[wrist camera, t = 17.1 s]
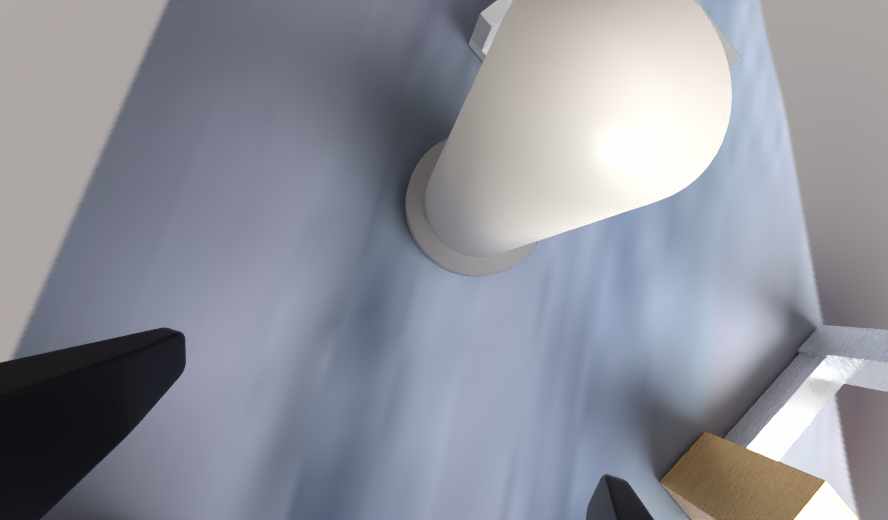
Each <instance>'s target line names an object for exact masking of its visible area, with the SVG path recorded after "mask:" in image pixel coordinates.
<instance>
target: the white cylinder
mask: <svg viewBox="0 0 888 520" xmlns="http://www.w3.org/2000/svg"><path fill="white" fill-rule="evenodd" d="M731 102H732V87H731V77H730V71H729V65H728V62H727V58H726V55H725V51H724V48H723V46H722V44H721V41H720V39H719V36H718V34H717V33H716V31H715V29H714V27H713V25H712V24H711V22H710V20H709V19H708V17H707V16H706V15H705V13H704V12H703V10H702V9H701V8H700V7H699V5H698V4H697V3H696V2H695V1H694V0H513V2H512V3H511V5H510V7H509V8H508V10H507V12H506V13H505V15H504V17H503V20H502V22H501V24H500V26H499V28H498V31H497V33H496V35H495V37H494V39H493V41H492V44H491V46H490V48H489V50H488V52H487V55H486V57H485V59H484V61H483V63H482V65H481V68H480V70H479V72H478V74H477V76H476V78H475V81H474V83H473V85H472V87H471V89H470V92H469V94H468V96H467V98H466V100H465V102H464V105H463V107H462V109H461V111H460V113H459V116H458V118H457V120H456V122H455V124H454V126H453V129H452V131H451V133H450V135H449V137H448V138H447V139H445V140H443V141H441V142H439V143H438V144H436V145H435V146H433V147H432V148H431V149H430V150H429V151H428V152H427V153H425V155H424V156H423V157H422V158H421V159H420V161H419V162H418V164H417V165H416V167H415V169H414V171H413V173H412V176H411V178H410V181H409V185H408V188H407V192H406V198H405V215H406V221H407V225H408V229H409V231H410V234H411V236H412V238H413V240H414V241H415V243H416V245H417V246H418V248H419V249H420V250H421V252H422V253H423V254H424V255H425V256H426V257H427V258H428V259H430V260H431V261H432V262H433V263H435V264H436V265H438V266H439V267H441V268H443V269H445V270H447V271H450V272H452V273H456V274H459V275H466V276H482V275H489V274H494V273H497V272H501V271H504V270H506V269H508V268H511V267H512V266H514V265H516V264H517V263H519V262H520V261H521V260H523V259H524V258H525V257H526V256H527V255H528V254H529V253H530V252H531V251H532V249H533V248H534V247H535V245H536V244H537V242H538V241H539V240H542V239H545V238H548V237H551V236H554V235H557V234H560V233H563V232H566V231H569V230H572V229H575V228H578V227H581V226H584V225H587V224H590V223H593V222H596V221H599V220H602V219H605V218H608V217H611V216H614V215H617V214H620V213H623V212H626V211H629V210H632V209H635V208H638V207H641V206H644V205H647V204H650V203H653V202H656V201H659V200H662V199H664V198H667V197H669V196H671V195H674V194H675V193H677V192H679V191H680V190H682V189H684V188H685V187H687V186H688V185H689V184H691V183H692V182H693V181H694V180H695V179H697V178H698V177H699V176H700V175H701V174H702V172H703V171H704V170H705V169H706V168H707V167H708V166H709V164H710V163H711V161H712V160H713V158H714V157H715V155H716V154H717V152H718V150H719V148H720V146H721V144H722V142H723V139H724V136H725V133H726V131H727V128H728V123H729V118H730V113H731Z"/></svg>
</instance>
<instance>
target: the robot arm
mask: <svg viewBox="0 0 888 520" xmlns="http://www.w3.org/2000/svg"><path fill="white" fill-rule="evenodd" d="M185 365H186V349H185V336H184V334H183V333H181V332H179V331H176V330H173V329H170V328H159V329H154V330H149V331H145V332H140V333H135V334H131V335H126V336H122V337H117V338H112V339H108V340H103V341H98V342H94V343H89V344H85V345H80V346H75V347H71V348H66V349H61V350H57V351H52V352H48V353H43V354H38V355H34V356H29V357H24V358H20V359H15V360H10V361H6V362H1V363H0V520H40V519H41V518H42V517H43V516H44V515H45V514H46V513H47V512H48V511H49V510H50V509H51V508H53V507H54V506H55V505H56V504H57V503H58V502H59V501H60V500H61V499H62V498H63V497H64V496H65V495H66V494H67V493H68V492H69V491H70V490H71V489H72V488H73V487H74V486H76V485H77V484H78V483H79V482H80V481H81V480H82V479H83V478H84V477H85V476H86V475H87V474H88V473H89V472H90V471H91V470H92V469H93V468H94V467H95V466H96V465H97V464H99V463H100V462H101V461H102V460H103V459H104V458H105V457H106V456H107V455H108V454H109V453H110V452H111V451H112V450H113V449H114V448H115V447H116V446H117V445H118V444H119V443H120V442H121V441H122V440H123V439H124V438H125V437H126V436H127V435H128V434H129V433H130V432H131V431H132V430H133V429H134V428H135V427H136V426H137V425H138V424H139V423H140V421H141V420H142V419H143V418H144V417H145V416H146V415H147V413H148V412H149V411H150V410H151V409H152V408H153V407H154V405H155V404H156V403H157V402H158V401H159V400H160V399H161V397H162V396H163V395H164V394H165V393H166V392H167V391H168V389H169V388H170V387H171V386H172V385H173V384H174V383H175V381H176V380H177V379H178V378H179V377H180V376H181V374H182V373H183V371H184V368H185ZM586 520H654V519H653V518H652V516H651V515H650V513H649V512H648V510H647V509H646V507H645V506H644V505H643V503H642V502H641V500H640V499H639V497H638V496H637V495H636V493H635V492H634V490H633V489H632V487H631V486H630V485H629V483H628V482H627V481H625V480H623V479H620V478H617V477H614V476H611V475H608V474H606V475H603V476H602V477H601V479H600V481H599V483H598V485H597V487H596V489H595V491H594V494H593V496H592V498H591V500H590V502H589V505H588V508H587V514H586Z"/></svg>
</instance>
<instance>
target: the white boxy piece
mask: <svg viewBox="0 0 888 520" xmlns="http://www.w3.org/2000/svg"><path fill="white" fill-rule="evenodd" d="M797 351H798V353H799V354H798V355H797V357H796V358H795V359H794V360H793V361H792V362H791V363H790V364H789V366H788V367H787V368H786V369H785V370H784V371H783V372H782V373H781V374H780V376H779V377H778V378H777V379H776V380H775V381H774V382H773V383H772V385H771V386H770V387H769V388H768V389H767V390H766V391H765V392H764V394H763V395H762V396H761V397H760V398H759V399H758V400H757V401H756V402H755V404H754V405H753V406H752V407H751V408H750V409H749V410H748V411H747V413H746V414H745V415H744V416H743V417H742V418H741V419H740V420H739V422H738V423H737V424H736V425H735V426H734V427H733V428H732V429H731V430H730V432H729V433H728V434H727V435H726V436H725V437H724V438H721V437H718V436H716V435H713V434H711V433H709V432H706V431H705V432H704V433H703V434H702V436H701V437H700V438H699V439H698V440H697V441H696V442H695V443H694V444H693V445H692V447H691V448H690V449H689V450H688V451H687V452H686V453H685V454H684V455H683V457H682V458H681V459H680V460H679V461H678V462H677V463H676V464H675V465H674V466H673V468H672V469H671V470H670V471H669V472H668V473H667V474H666V475H665V476H664V477H663V479H662V480H661V481H660V482H659V483H660V484H661V485H662V486H663V487H664V488H665V490H666V491H667V492H668V493H669V494H670V495H671V497H672V498H673V499H674V500H675V501H676V502H677V504H678V505H679V506H680V507H681V508H682V509H683V511H684V512H685V513H686V514H687V515H688V516H689V518H690V519H691V520H858V519H857V518H856V517H855V515H854V514H853V513H852V512H851V511H850V509H849V508H848V507H847V506H846V505H845V503H844V502H843V501H842V500H841V499H840V497H839V496H838V495H837V494H836V493H835V491H834V490H833V489H832V488H831V487H830V485H829V484H828V483H827V482H826V481H824V480H822V479H820V478H817V477H815V476H812V475H810V474H807V473H805V472H803V471H800V470H798V469H795V468H793V467H791V466H788V465H786V464H783V463H781V462H779V461H778V460H779V459H780V458H781V456H782V455H783V454H784V453H785V452H786V451H787V449H788V448H789V447H790V446H791V445H792V444H793V442H794V441H795V440H796V439H797V438H798V437H799V435H800V434H801V433H802V432H803V431H804V430H805V428H806V427H807V426H808V425H809V424H810V423H811V421H812V420H813V419H814V418H815V417H816V415H817V414H818V413H819V412H820V411H821V410H822V408H823V407H824V406H825V405H826V404H827V403H828V401H829V400H830V399H831V398H832V397H833V396H834V394H835V393H836V392H837V391H838V390H839V389H840V387H841V386H842V385H843V384H850V385H855V386H860V387H865V388H871V389H876V390H881V391H887V392H888V330H883V329H868V328H854V327H839V326H825V325H819V327H818V328H817V329H816V330H815V331H814V332H813V333H812V334H811V336H810V337H809V338H808V339H807V340H806V341H805V342H804V343H803V344H802V346H801V347H800V348H799V349H798V350H797Z"/></svg>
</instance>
